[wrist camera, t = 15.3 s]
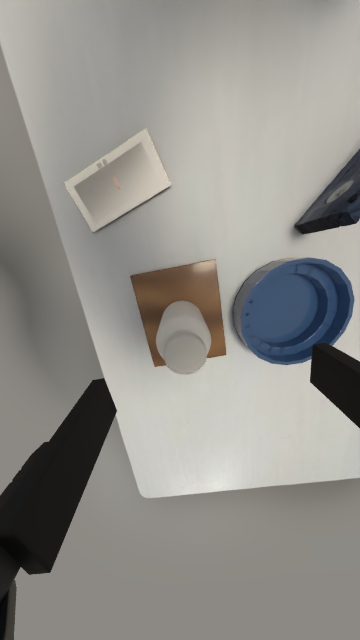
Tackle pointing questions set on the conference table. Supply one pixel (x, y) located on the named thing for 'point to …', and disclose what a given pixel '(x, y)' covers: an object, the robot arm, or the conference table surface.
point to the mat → (180, 285)
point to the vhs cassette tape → (335, 202)
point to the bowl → (293, 309)
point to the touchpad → (118, 181)
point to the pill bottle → (183, 338)
